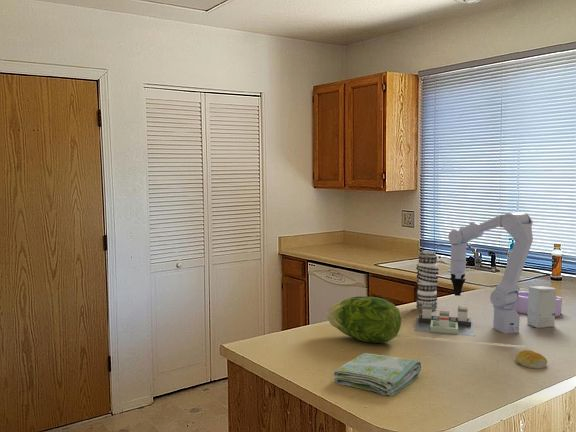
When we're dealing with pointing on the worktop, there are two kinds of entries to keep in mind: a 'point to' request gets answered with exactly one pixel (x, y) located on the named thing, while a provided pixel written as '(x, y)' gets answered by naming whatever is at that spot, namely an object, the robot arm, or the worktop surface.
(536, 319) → the skincare box
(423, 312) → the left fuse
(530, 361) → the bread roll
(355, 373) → the towel
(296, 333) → the worktop surface
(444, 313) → the block
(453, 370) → the worktop surface
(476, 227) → the robot arm
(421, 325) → the panel
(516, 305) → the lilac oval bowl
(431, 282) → the striped tower model
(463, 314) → the block
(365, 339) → the lettuce
